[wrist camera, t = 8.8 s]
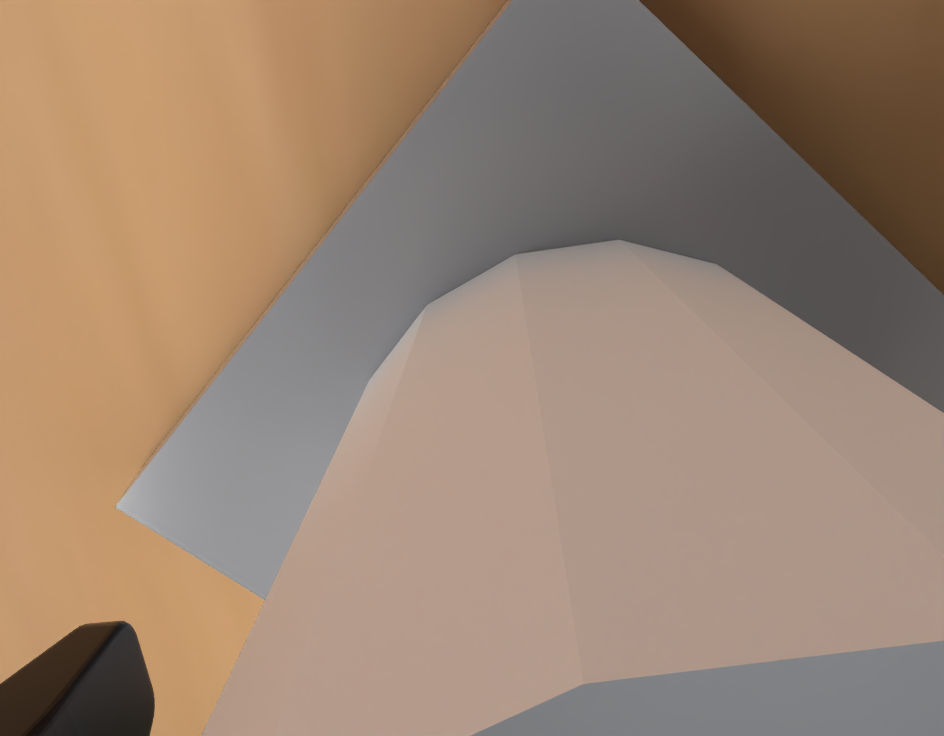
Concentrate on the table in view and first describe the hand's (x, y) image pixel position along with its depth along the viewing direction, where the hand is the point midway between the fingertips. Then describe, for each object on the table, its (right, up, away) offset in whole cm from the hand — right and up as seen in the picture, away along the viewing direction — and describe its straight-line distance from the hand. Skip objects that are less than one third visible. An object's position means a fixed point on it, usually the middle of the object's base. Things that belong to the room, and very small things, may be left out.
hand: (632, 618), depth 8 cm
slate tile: (0, +1, +3) cm, 4 cm away
